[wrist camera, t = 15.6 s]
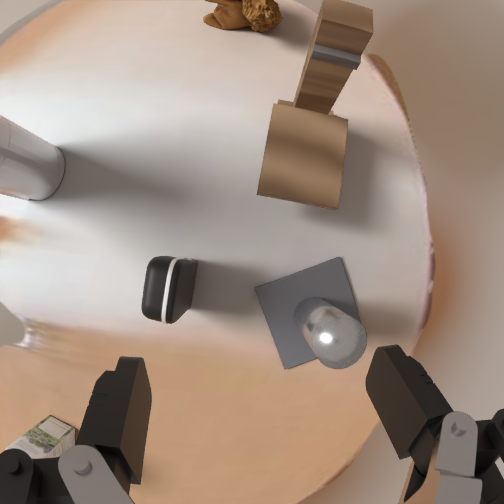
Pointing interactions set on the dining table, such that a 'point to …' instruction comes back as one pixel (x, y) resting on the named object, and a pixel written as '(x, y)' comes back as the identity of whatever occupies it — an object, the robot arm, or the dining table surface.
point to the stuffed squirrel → (244, 14)
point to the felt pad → (291, 294)
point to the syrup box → (46, 439)
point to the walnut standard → (316, 112)
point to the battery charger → (168, 288)
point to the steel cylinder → (330, 333)
